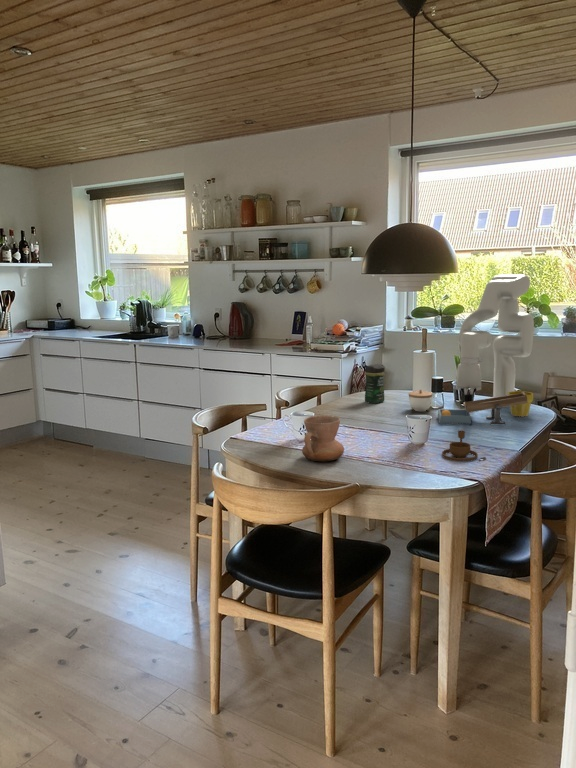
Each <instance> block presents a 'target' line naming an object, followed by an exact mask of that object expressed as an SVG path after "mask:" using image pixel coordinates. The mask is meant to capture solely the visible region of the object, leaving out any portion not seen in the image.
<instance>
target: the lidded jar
mask: <svg viewBox="0 0 576 768" xmlns="http://www.w3.org/2000/svg"><path fill="white" fill-rule="evenodd" d="M433 395H434V394H433V392H430V391H423V390H422V389H419V390H417V391H410V392H408V403H409V406H410V407H411V408H412V410H413V409H414V410H415V411H416V412H427V411H428V410H429V409H430V407H431V406H432V403H433ZM414 410H413V411H414ZM426 410H427V411H426Z"/></svg>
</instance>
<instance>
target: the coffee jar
mask: <svg viewBox="0 0 576 768" xmlns="http://www.w3.org/2000/svg"><path fill="white" fill-rule="evenodd" d="M385 368H386V367H385V366H384V364H379V363H376V364H374V363H373V364H370V365H367V366H365V370H364V372H365V373H364V374H365V389H364V390H365V392H364V393H365V394H364V402H365V403H367V402H369V403H368V404H380V403H383V402H382V401H384V402H385V389H384V387H385V385H384V384H385V383H384V379H385V378H384V377H385V373H386V372H385V370H386V369H385ZM379 402H380V403H379Z"/></svg>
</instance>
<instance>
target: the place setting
mask: <svg viewBox="0 0 576 768" xmlns="http://www.w3.org/2000/svg"><path fill="white" fill-rule="evenodd" d="M465 435H466V431H465V430H464V429H463V430H461V429H460V430H457V437H458V439H459V441H454V442H453V441H452V442H450V443H449V447H448V448H447V449H444V450H442V451H441V456H442V457H443V458H444V459H446V460H448V459H449V461H452V462H471V460H472V461H475V460H476V459H477V458H478V456H479V455H478V452H477V451H474V450H472V449H471V444H470V443H469V442H465V441H464V442H463V439H464V438H465ZM449 452H450V454H451V455H452V456H449V455H447V454H449ZM446 453H447V454H446ZM469 453H471V454H469ZM472 454H473V456H472V457H467V456H468V455H472ZM474 455H475V456H474ZM456 457H457V458H456ZM464 457H465V458H464ZM474 459H475V460H474ZM480 459H484V460H483V461H486V460H487V457H486V456H483V457H480V458H479V459H478V461H479V462H481V460H480Z"/></svg>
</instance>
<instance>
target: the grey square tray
mask: <svg viewBox="0 0 576 768" xmlns="http://www.w3.org/2000/svg"><path fill="white" fill-rule="evenodd" d="M444 410H448V411H450V413H451V416H444V415H441V413H442V411H444ZM437 418H438V422H439V425H471V421H472V420H471V414H470V412H469V413H468V412H467V410H466V409H455V408H454V409H450V408H449V409H447V408H446V409H445V408H444V409H443V408H442V409H437Z"/></svg>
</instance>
